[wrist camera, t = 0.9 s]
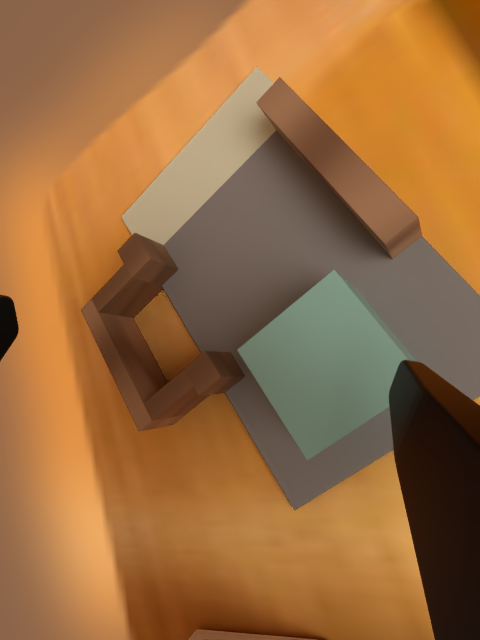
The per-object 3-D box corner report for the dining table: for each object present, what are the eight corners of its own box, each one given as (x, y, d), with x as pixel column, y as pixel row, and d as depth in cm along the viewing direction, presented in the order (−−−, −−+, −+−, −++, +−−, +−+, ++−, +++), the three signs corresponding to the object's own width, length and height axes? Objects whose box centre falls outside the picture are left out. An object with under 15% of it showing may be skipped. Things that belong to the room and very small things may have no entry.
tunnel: (422, 238, 17) (418, 217, 15) (177, 432, 22) (143, 440, 20) (299, 111, 21) (279, 76, 18) (110, 303, 26) (74, 296, 23)
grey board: (538, 358, 15) (540, 358, 15) (296, 508, 19) (294, 510, 18) (259, 69, 22) (257, 66, 22) (124, 218, 26) (120, 216, 26)
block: (431, 378, 16) (426, 382, 13) (335, 442, 18) (307, 460, 14) (356, 288, 18) (334, 269, 15) (274, 352, 20) (237, 350, 16)
